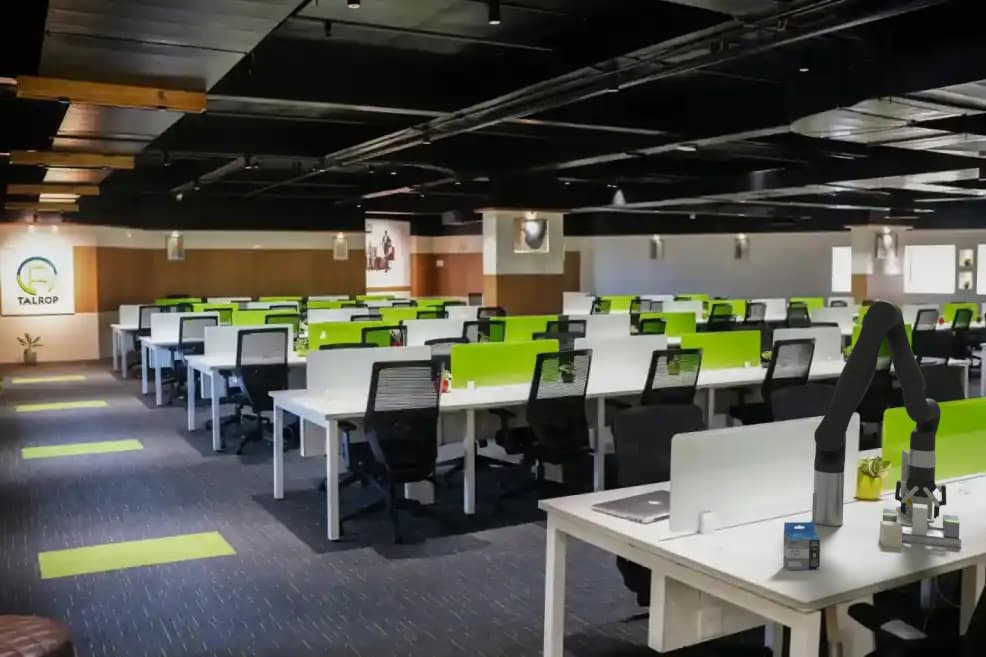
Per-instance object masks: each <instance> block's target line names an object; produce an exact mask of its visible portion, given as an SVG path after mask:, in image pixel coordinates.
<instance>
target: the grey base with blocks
mask: <svg viewBox="0 0 986 657" xmlns="http://www.w3.org/2000/svg"><path fill="white" fill-rule="evenodd" d="M882 521H892V522H898V511H897V510H896V509H892V508H891V509H890V508H882ZM899 524H900V525H901V526H902V542H906V541H907V543H914V542H916V543H917V544H923V543H924V544H926V545H932V544H933V546H940V545H944V546H943V547H949V546H951V547H952V548H959V549H960V548H962V538H961V536H960V520H959V516H957V515H951V514H942V527H941V526H932V525H931V526H930V525H927V535H921V534H912V523H904V522H899ZM951 547H950V548H951Z"/></svg>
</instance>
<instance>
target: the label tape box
mask: <svg viewBox="0 0 986 657" xmlns="http://www.w3.org/2000/svg"><path fill="white" fill-rule="evenodd" d="M783 524H784V525H783V526H784V528H783V557H782V558H783V559H782V560H783V562H782V563H783V565H782V566H783V567H784V568H785V569H786V570H787V571H801V570H802V571H804V570H806V571H807V570H808V571H814V570H817V571H818V570H819V571H820V566H821V565H820V564H821V562H820V561H821V558H820V556H821V555H820V554H821V553H820V552H821V539H820V538H819V536H818V534H817V532H816V531H815V530H816V523H815V522H812V521H810V522H805V521H803V522H798V521H797V522H791V521H789V522H784V523H783ZM799 526H800V527H804V528H797V527H799Z"/></svg>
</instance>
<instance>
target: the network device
mask: <svg viewBox="0 0 986 657" xmlns="http://www.w3.org/2000/svg"><path fill="white" fill-rule="evenodd" d="M909 451H910V450H902V452H901V474H900V475H901V477H900V481H903V482H907V480H908V458H909ZM908 491H909V489H908V488H907V487H906V485H904V486H903V488H900V497H903V496H904V495H905V494H906V493H907V492H908ZM913 503H914V504H924V505H927V508H928V514H927V522H929V524H930V522H932V523H935V518H934V517H933V504H934V503H933V501H932V500H931V499H930V498H929V497H926V498H923V497H915V496H913V495H912V496H911V497H910V498H909V499H908V500H907V501H906V510H909V511H906V515H903V513H901V506H896V507H895V510H897V513H899V514H900V515H901V516H902V518H904V520H906V521H908V522H912V518H910V517H913ZM929 519H930V520H929Z"/></svg>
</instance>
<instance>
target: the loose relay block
mask: <svg viewBox="0 0 986 657" xmlns="http://www.w3.org/2000/svg"><path fill="white" fill-rule="evenodd" d="M879 523H880V525H879V541H880V543H881V544H882V546H883V547H886V546H890V548H899V547H902V548H903V541H902V526H901V525H900V524H899V523H900V522H899V521H897V522H892V521H883V520H880V522H879Z"/></svg>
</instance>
